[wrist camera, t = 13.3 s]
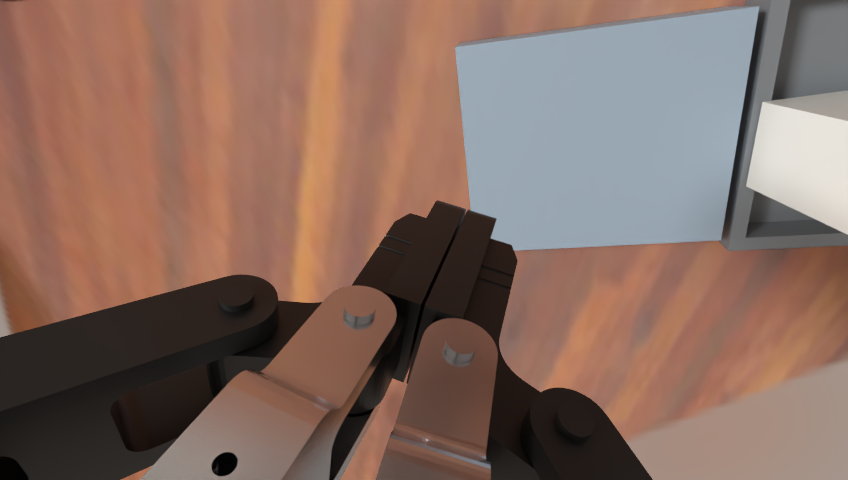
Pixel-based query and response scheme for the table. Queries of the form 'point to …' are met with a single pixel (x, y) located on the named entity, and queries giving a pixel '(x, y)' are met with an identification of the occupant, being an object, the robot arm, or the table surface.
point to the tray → (773, 80)
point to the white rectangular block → (804, 156)
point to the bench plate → (607, 128)
